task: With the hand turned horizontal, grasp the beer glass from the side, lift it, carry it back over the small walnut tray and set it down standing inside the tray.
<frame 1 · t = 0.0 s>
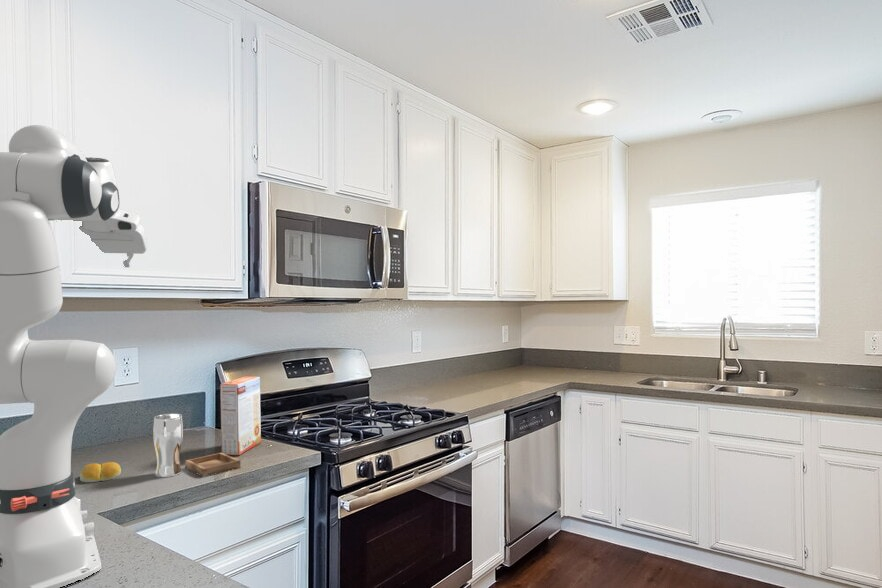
hand: (107, 266, 152), 54 cm above the worktop, tool tilted 30°, fingers open, 8 cm apart
cracker box: (241, 449, 169), on the worktop
tray: (212, 467, 151), on the worktop
beer glass: (168, 474, 146), on the worktop
bread roll: (99, 479, 143), on the worktop
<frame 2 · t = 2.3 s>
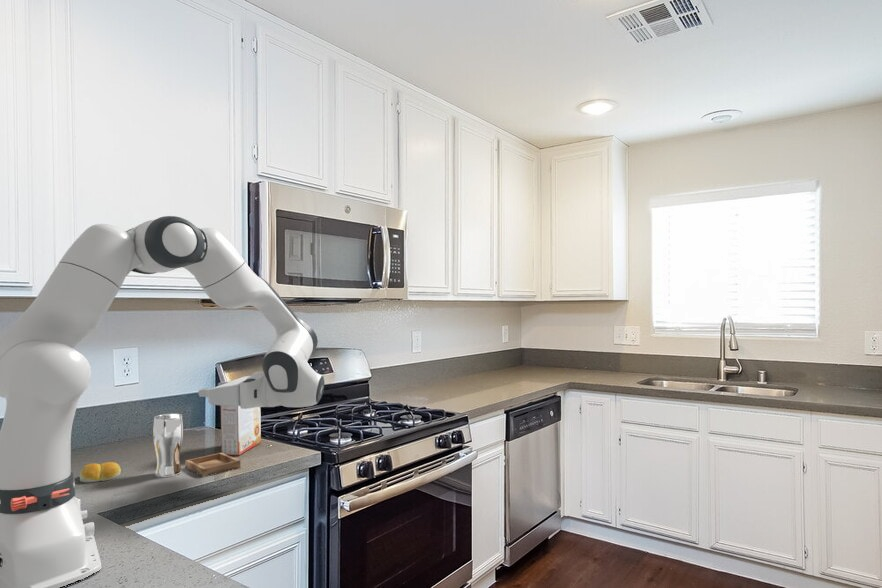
hand: (210, 389, 145), 22 cm above the worktop, tool horizontal, fingers open, 8 cm apart
nothing on the worktop moved.
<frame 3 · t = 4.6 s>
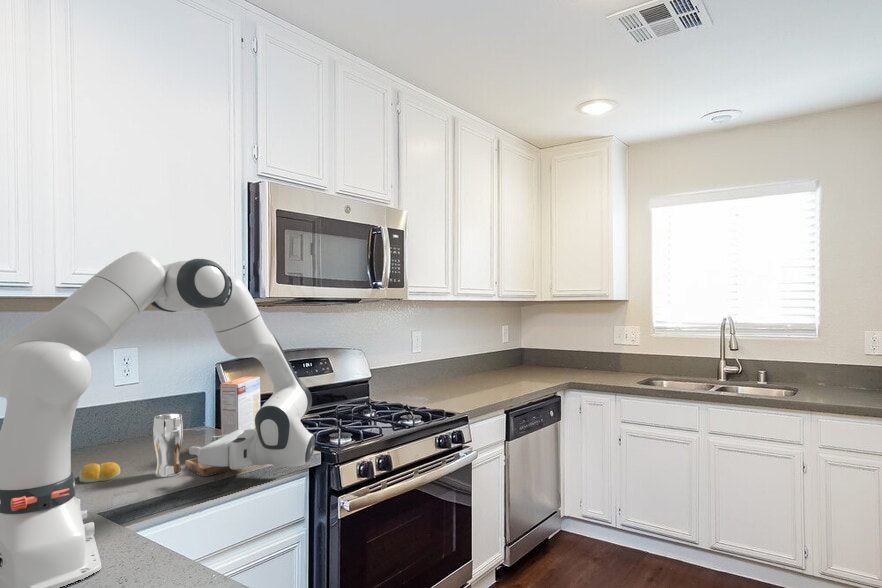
hand: (201, 444, 145), 8 cm above the worktop, tool horizontal, fingers open, 8 cm apart
nothing on the worktop moved.
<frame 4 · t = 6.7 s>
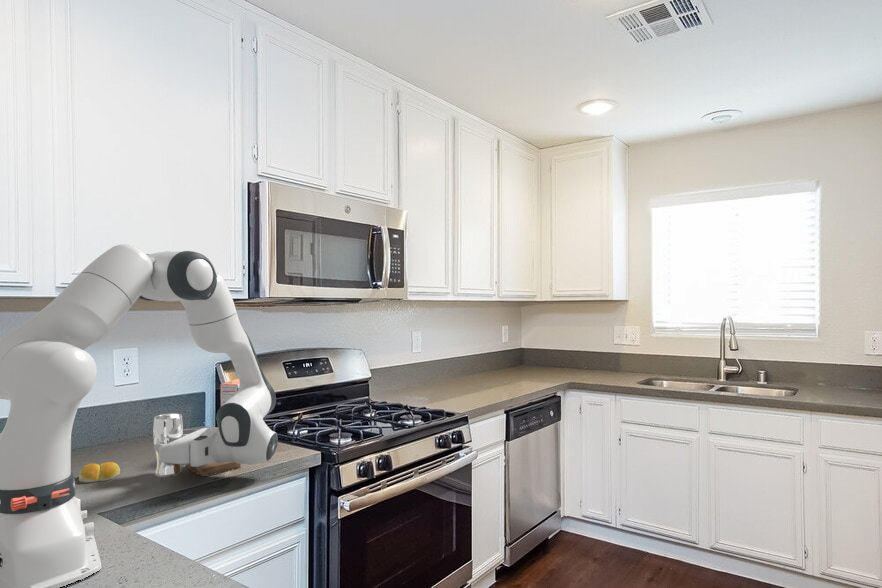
hand: (165, 442, 146), 8 cm above the worktop, tool horizontal, fingers closed on beer glass, 6 cm apart
beer glass: (168, 474, 146), on the worktop, touching gripper
everything else where it was.
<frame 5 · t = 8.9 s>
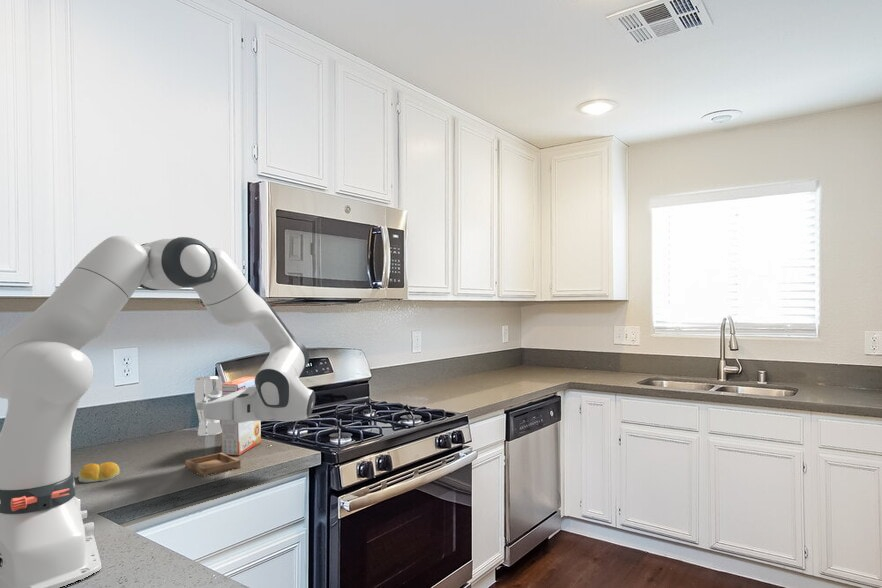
hand: (206, 402, 151), 18 cm above the worktop, tool horizontal, fingers closed on beer glass, 6 cm apart
beer glass: (210, 434, 151), point 9 cm above the worktop, touching gripper
everything else where it was.
when the fingers open (10 cm above the worktop, at t = 11.3 s): beer glass stays where it is, resting on tray.
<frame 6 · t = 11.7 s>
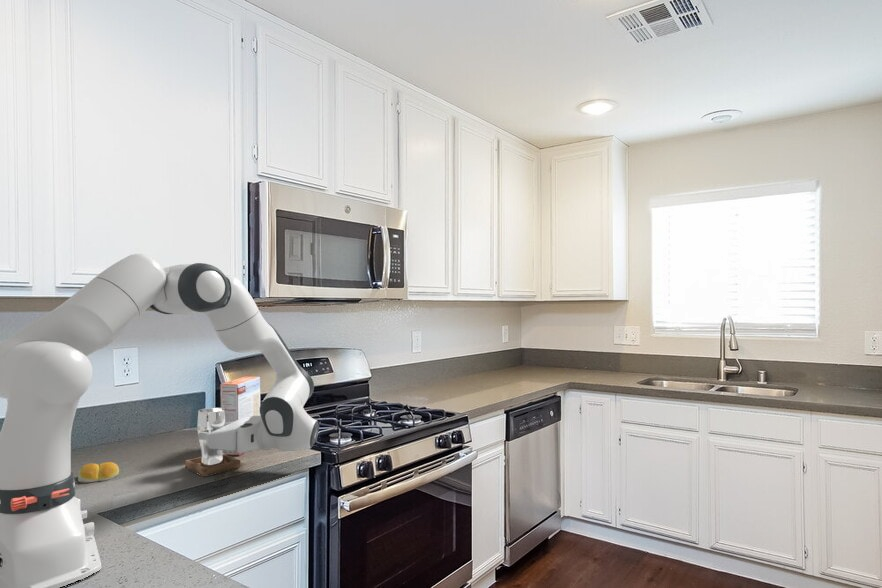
hand: (209, 430, 151), 10 cm above the worktop, tool horizontal, fingers open, 8 cm apart
beer glass: (212, 466, 150), resting on tray
everything else where it was.
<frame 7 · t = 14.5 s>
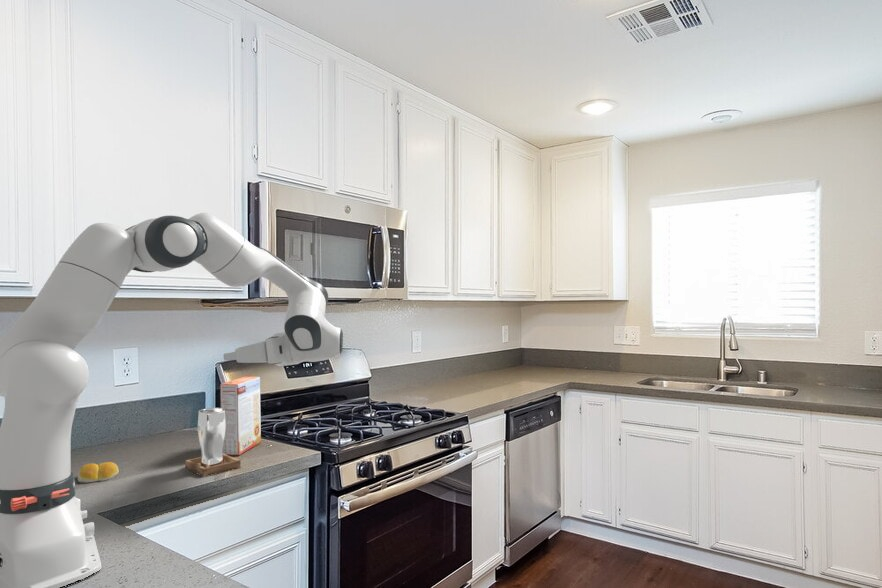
hand: (231, 355, 149), 30 cm above the worktop, tool horizontal, fingers open, 8 cm apart
nothing on the worktop moved.
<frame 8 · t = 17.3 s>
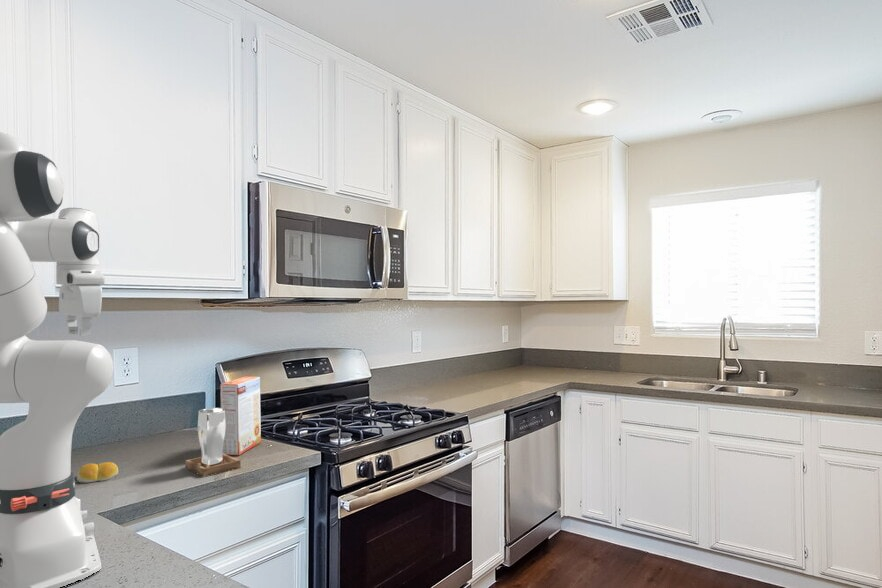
hand: (78, 335, 134), 37 cm above the worktop, tool pointing down, fingers open, 8 cm apart
nothing on the worktop moved.
at the end: beer glass inside the target area on the tray (0.4 cm from its centre), point 0.4 cm above the tray's base; beer glass tilted 0°; the gripper is holding nothing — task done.
